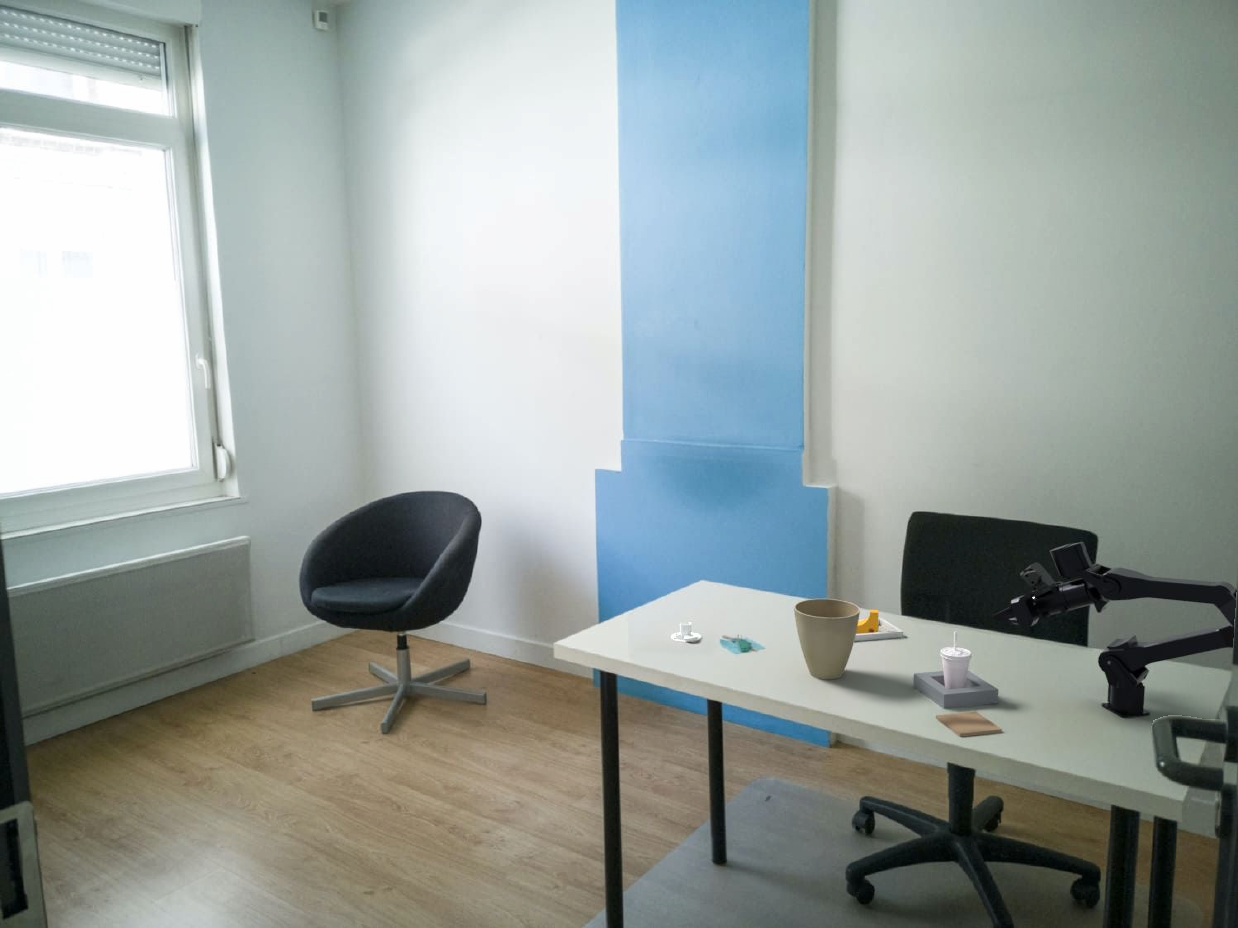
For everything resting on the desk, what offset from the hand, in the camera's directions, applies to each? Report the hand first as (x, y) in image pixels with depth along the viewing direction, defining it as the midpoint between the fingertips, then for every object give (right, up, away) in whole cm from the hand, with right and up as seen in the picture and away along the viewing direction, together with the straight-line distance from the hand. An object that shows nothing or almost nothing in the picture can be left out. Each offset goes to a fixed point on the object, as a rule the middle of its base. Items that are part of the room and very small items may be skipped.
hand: (1001, 613), depth 205 cm
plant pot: (-38, -16, +8) cm, 41 cm away
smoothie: (-13, -17, -6) cm, 22 cm away
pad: (-16, -19, -21) cm, 33 cm away
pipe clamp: (-23, -11, +38) cm, 46 cm away
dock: (-13, -17, -6) cm, 22 cm away
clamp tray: (-22, -11, +37) cm, 44 cm away
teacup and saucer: (-70, -13, +34) cm, 79 cm away
